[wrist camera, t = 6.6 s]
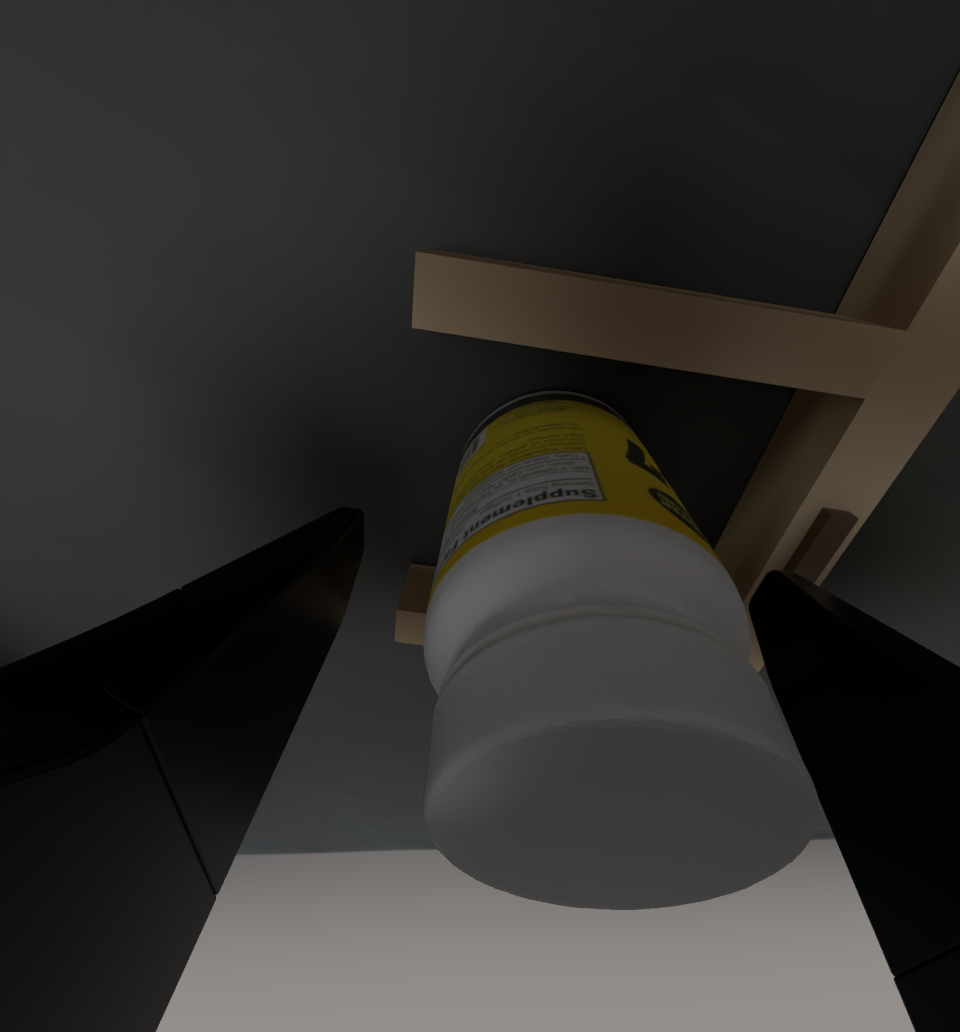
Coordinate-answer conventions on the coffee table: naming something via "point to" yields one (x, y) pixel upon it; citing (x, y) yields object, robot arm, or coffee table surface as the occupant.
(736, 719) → the supplement bottle
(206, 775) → the robot arm
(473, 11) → the coffee table surface
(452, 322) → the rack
